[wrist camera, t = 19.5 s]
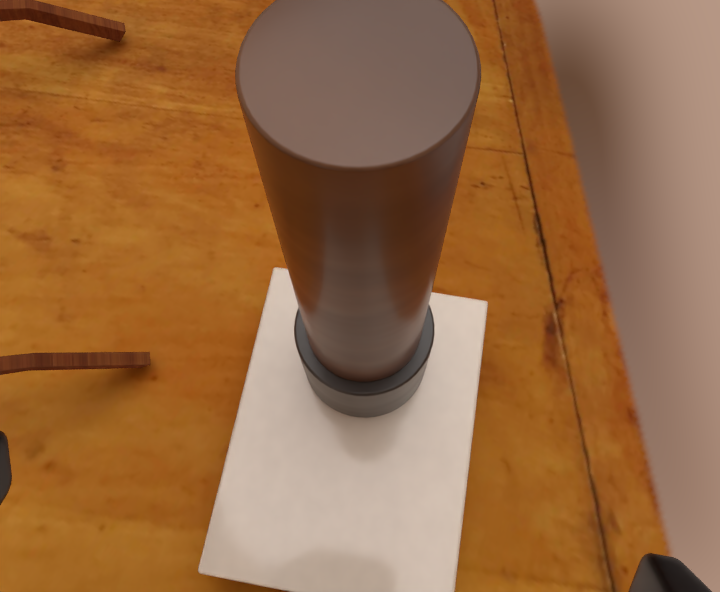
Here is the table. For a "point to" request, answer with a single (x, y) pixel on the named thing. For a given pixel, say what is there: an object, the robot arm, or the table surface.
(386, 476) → the white base block
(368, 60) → the brown tall cylinder
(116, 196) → the table surface
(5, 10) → the glasses
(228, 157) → the table surface
